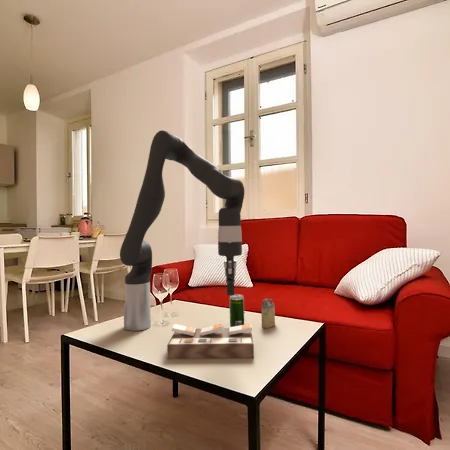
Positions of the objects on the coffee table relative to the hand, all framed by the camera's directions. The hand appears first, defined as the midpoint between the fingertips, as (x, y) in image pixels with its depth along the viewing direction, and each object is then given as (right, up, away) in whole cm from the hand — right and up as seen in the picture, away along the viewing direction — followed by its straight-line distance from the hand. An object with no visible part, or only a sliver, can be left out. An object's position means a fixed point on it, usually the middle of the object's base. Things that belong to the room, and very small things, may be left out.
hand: (230, 295), depth 97 cm
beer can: (+3, -17, +18) cm, 25 cm away
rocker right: (+3, -11, 0) cm, 11 cm away
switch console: (-6, -16, -1) cm, 18 cm away
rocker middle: (-6, -11, 0) cm, 12 cm away
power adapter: (+6, -17, +32) cm, 37 cm away
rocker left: (-15, -11, 0) cm, 19 cm away
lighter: (+15, -16, +20) cm, 29 cm away
